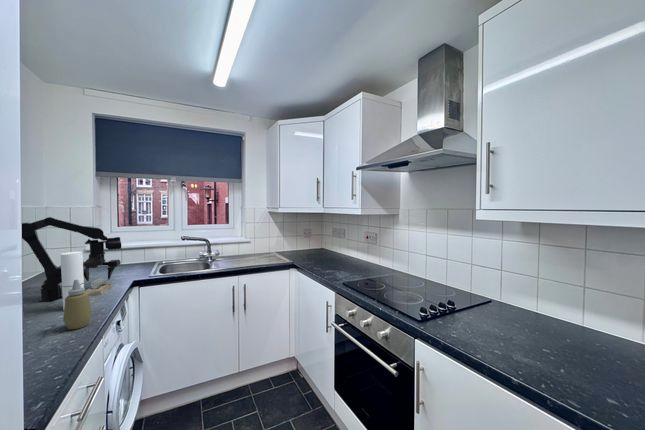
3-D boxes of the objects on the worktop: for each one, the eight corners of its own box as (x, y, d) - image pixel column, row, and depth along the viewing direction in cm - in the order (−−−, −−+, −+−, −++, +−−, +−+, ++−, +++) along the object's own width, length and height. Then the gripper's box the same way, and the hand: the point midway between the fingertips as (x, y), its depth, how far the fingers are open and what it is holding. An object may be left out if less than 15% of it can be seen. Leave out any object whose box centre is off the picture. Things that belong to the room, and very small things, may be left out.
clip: (98, 293, 139) (97, 282, 138) (91, 293, 138) (90, 282, 137) (105, 288, 146) (104, 277, 146) (98, 289, 145) (97, 278, 145)
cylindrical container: (83, 303, 125) (80, 250, 123) (86, 307, 120) (83, 252, 119) (62, 308, 119) (59, 253, 118) (64, 312, 115) (61, 255, 113)
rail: (100, 294, 137) (100, 289, 136) (83, 296, 134) (83, 291, 134) (112, 286, 150) (111, 282, 150) (96, 287, 147) (96, 283, 147)
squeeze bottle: (97, 321, 106) (95, 276, 105) (80, 331, 98) (77, 283, 97) (77, 321, 106) (74, 277, 105) (57, 331, 97) (54, 283, 97)
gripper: (66, 255, 130) (67, 286, 131) (111, 252, 137) (113, 282, 137) (78, 251, 141) (79, 280, 142) (120, 249, 147) (121, 277, 148)
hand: (98, 280), depth 142 cm, fingers open, 9 cm apart
